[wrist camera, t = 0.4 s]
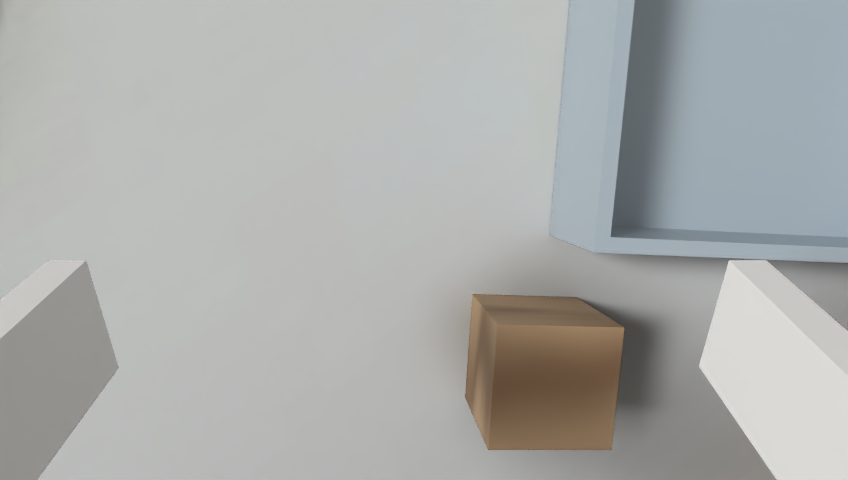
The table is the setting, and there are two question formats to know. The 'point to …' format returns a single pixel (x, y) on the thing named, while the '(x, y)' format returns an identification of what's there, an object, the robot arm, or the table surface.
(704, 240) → the tray
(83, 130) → the table surface
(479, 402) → the walnut cube
